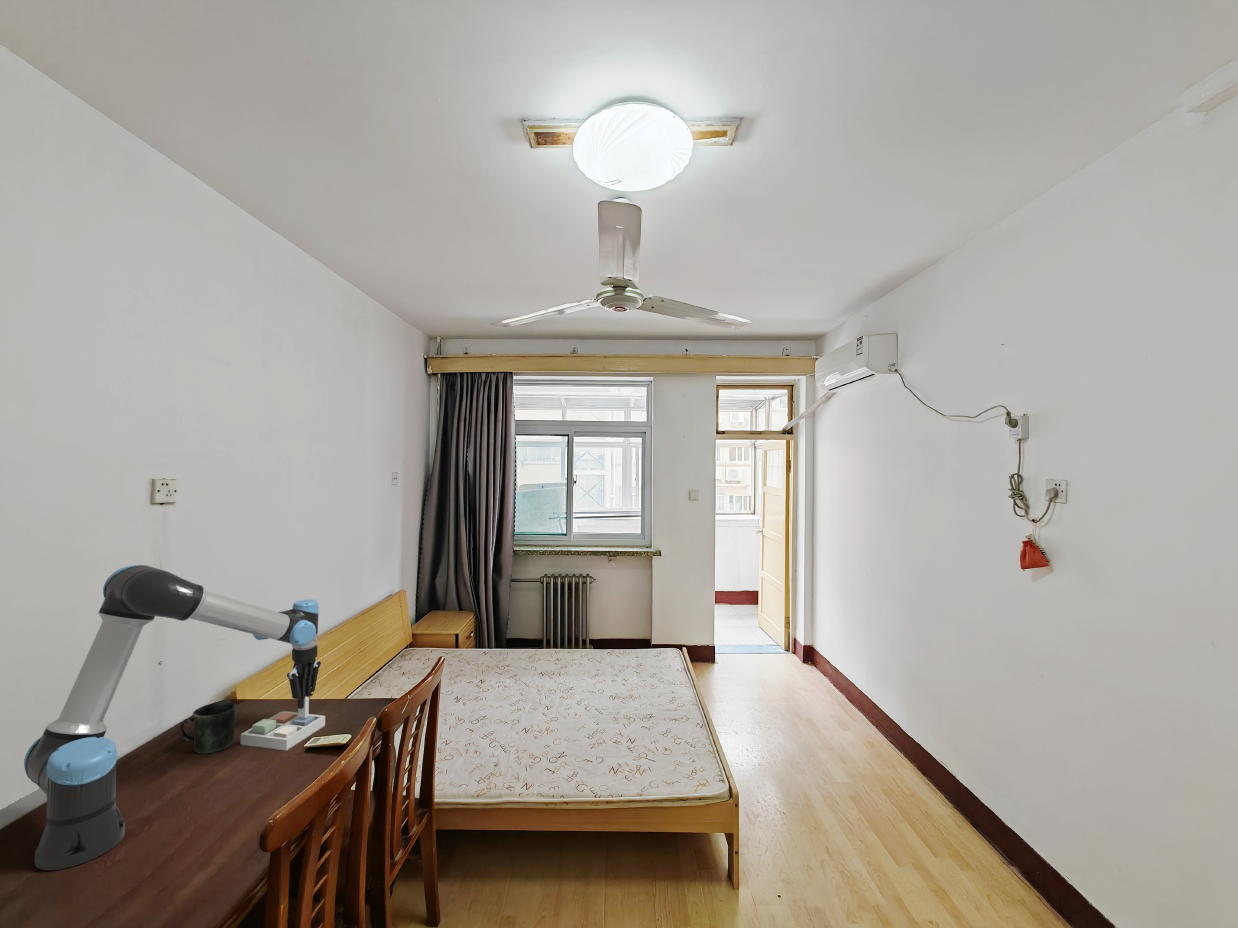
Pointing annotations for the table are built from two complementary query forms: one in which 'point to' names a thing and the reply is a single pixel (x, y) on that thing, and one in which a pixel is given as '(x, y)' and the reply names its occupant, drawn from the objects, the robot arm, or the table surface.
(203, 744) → the mug
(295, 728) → the key ivory
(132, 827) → the table surface
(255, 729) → the key sage
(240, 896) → the table surface
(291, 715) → the key terracotta
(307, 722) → the key slate
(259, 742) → the frame
